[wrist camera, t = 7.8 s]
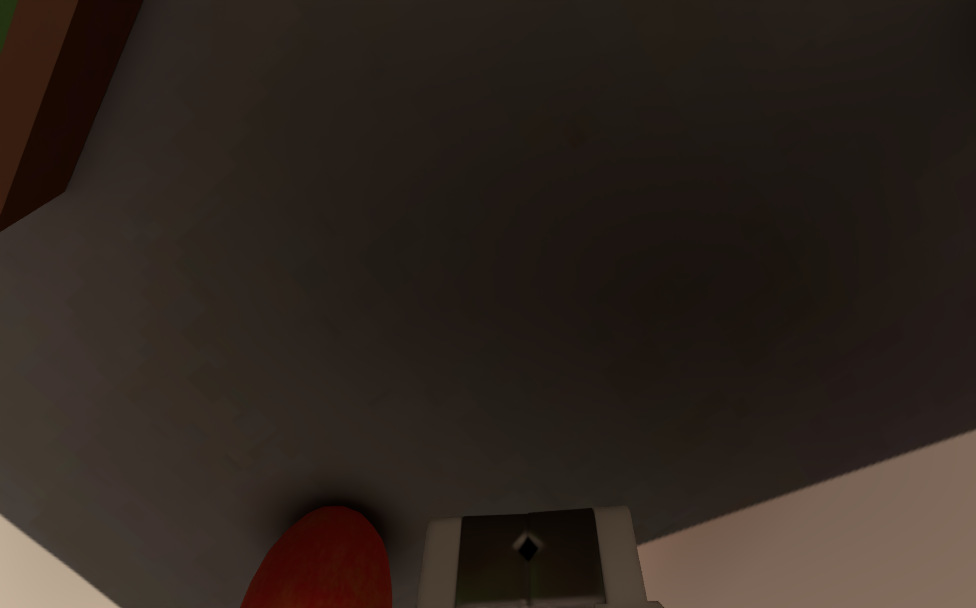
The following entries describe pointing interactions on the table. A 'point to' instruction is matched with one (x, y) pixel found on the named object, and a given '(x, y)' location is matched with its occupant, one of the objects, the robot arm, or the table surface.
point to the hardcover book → (52, 91)
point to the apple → (324, 565)
